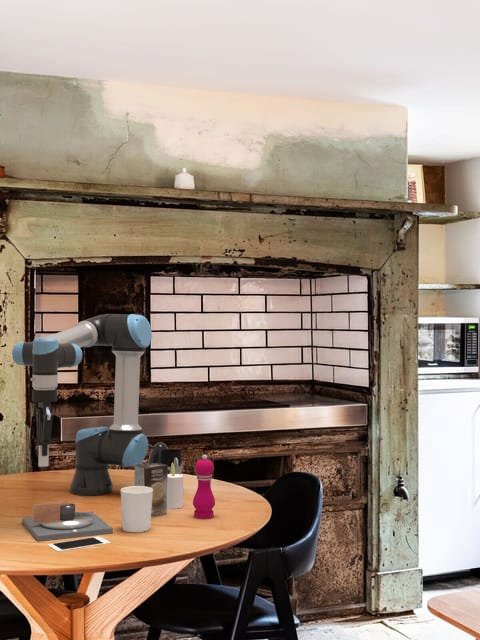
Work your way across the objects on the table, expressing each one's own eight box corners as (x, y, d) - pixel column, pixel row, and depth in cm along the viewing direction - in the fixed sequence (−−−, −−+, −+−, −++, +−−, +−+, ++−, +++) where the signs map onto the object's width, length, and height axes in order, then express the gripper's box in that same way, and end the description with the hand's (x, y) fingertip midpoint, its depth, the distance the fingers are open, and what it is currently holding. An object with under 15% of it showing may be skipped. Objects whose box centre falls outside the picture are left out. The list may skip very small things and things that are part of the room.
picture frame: (179, 488, 304) (179, 448, 304) (188, 497, 291) (189, 455, 290) (156, 489, 301) (156, 449, 301) (164, 498, 288) (165, 455, 288)
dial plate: (91, 516, 261) (91, 511, 261) (112, 533, 241) (112, 527, 241) (22, 522, 251) (22, 517, 251) (38, 541, 232) (38, 535, 232)
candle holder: (138, 535, 240) (139, 494, 240) (113, 529, 245) (113, 490, 245) (159, 527, 248) (159, 488, 248) (134, 523, 254) (134, 484, 253)
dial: (85, 513, 257) (85, 494, 257) (100, 526, 243) (100, 505, 243) (27, 519, 249) (27, 499, 249) (39, 532, 235) (39, 510, 235)
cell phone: (111, 544, 231) (111, 542, 231) (57, 553, 222) (57, 551, 222) (99, 538, 238) (99, 536, 238) (46, 546, 228) (46, 544, 228)
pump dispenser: (149, 478, 322) (150, 439, 322) (175, 479, 320) (176, 440, 320) (143, 483, 312) (143, 443, 312) (169, 484, 310) (170, 445, 310)
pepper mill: (218, 514, 266) (219, 453, 265) (210, 520, 259) (211, 457, 258) (197, 512, 268) (198, 452, 268) (189, 517, 261) (190, 455, 261)
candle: (187, 506, 276) (187, 462, 276) (172, 509, 271) (173, 464, 271) (174, 503, 280) (175, 459, 280) (160, 506, 276) (161, 462, 275)
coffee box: (145, 518, 259) (145, 468, 259) (132, 514, 264) (133, 465, 264) (167, 514, 266) (168, 464, 265) (155, 510, 270) (155, 462, 270)
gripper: (27, 387, 252) (26, 463, 252) (37, 390, 241) (35, 470, 241) (51, 386, 256) (50, 461, 256) (62, 390, 244) (60, 469, 244)
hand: (43, 465), depth 248 cm, fingers closed
